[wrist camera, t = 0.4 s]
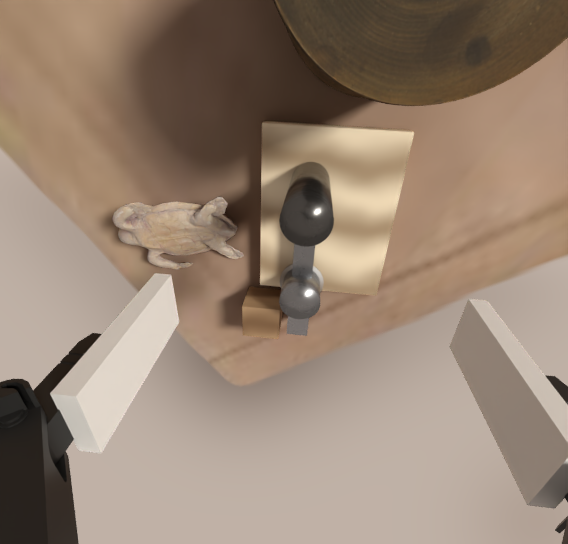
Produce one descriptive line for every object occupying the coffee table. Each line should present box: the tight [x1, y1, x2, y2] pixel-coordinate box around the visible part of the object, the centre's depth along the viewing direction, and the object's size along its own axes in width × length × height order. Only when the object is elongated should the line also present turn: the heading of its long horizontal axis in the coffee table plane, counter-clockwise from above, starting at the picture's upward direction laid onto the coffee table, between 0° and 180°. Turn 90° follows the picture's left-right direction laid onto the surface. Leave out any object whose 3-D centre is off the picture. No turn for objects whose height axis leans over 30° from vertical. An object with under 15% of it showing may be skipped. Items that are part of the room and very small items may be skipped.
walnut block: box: [242, 287, 282, 339], centre depth 41 cm, size 4×4×4 cm
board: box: [260, 121, 414, 296], centre depth 35 cm, size 20×14×2 cm
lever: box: [279, 162, 334, 336], centre depth 31 cm, size 19×4×11 cm, turn 177°
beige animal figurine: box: [113, 197, 244, 269], centre depth 36 cm, size 16×10×10 cm, turn 119°
